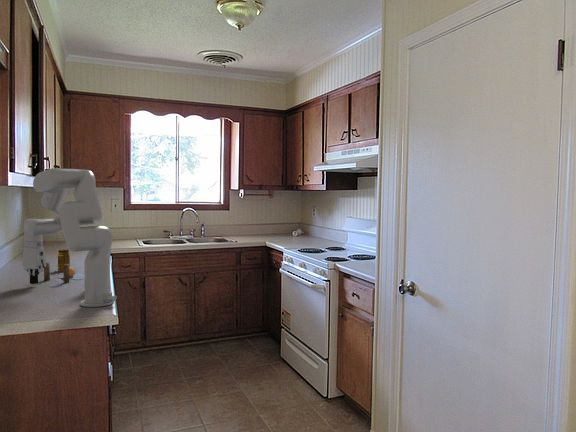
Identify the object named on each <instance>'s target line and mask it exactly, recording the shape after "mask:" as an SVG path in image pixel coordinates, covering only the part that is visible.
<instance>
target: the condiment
mask: <svg viewBox="0 0 576 432" xmlns="http://www.w3.org/2000/svg"><path fill="white" fill-rule="evenodd" d="M70 257H71V255H70V249H58V255H57V271H59V272H60V273H63V265H64V264H69V267H71V265H70V264H71V263H70V262H71V258H70Z"/></svg>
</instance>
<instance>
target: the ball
mask: <svg viewBox="0 0 576 432" xmlns="http://www.w3.org/2000/svg"><path fill="white" fill-rule="evenodd" d="M75 274H76V269H75V268H74V267H71V266H70V267H69V278H70V277H73V276H74V275H75Z"/></svg>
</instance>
